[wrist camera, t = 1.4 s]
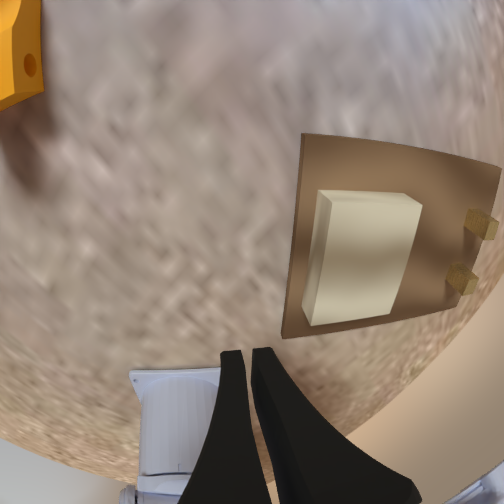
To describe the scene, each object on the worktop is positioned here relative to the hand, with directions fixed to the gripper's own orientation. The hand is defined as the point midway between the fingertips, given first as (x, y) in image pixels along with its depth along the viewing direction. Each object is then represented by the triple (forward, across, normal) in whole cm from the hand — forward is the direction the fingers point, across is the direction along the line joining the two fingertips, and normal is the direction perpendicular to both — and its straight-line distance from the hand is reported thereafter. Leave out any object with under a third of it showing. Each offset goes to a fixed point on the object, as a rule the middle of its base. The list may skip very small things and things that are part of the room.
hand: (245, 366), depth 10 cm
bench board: (+8, -13, 0) cm, 15 cm away
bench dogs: (+8, -19, 0) cm, 21 cm away
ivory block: (+8, -8, 0) cm, 11 cm away
